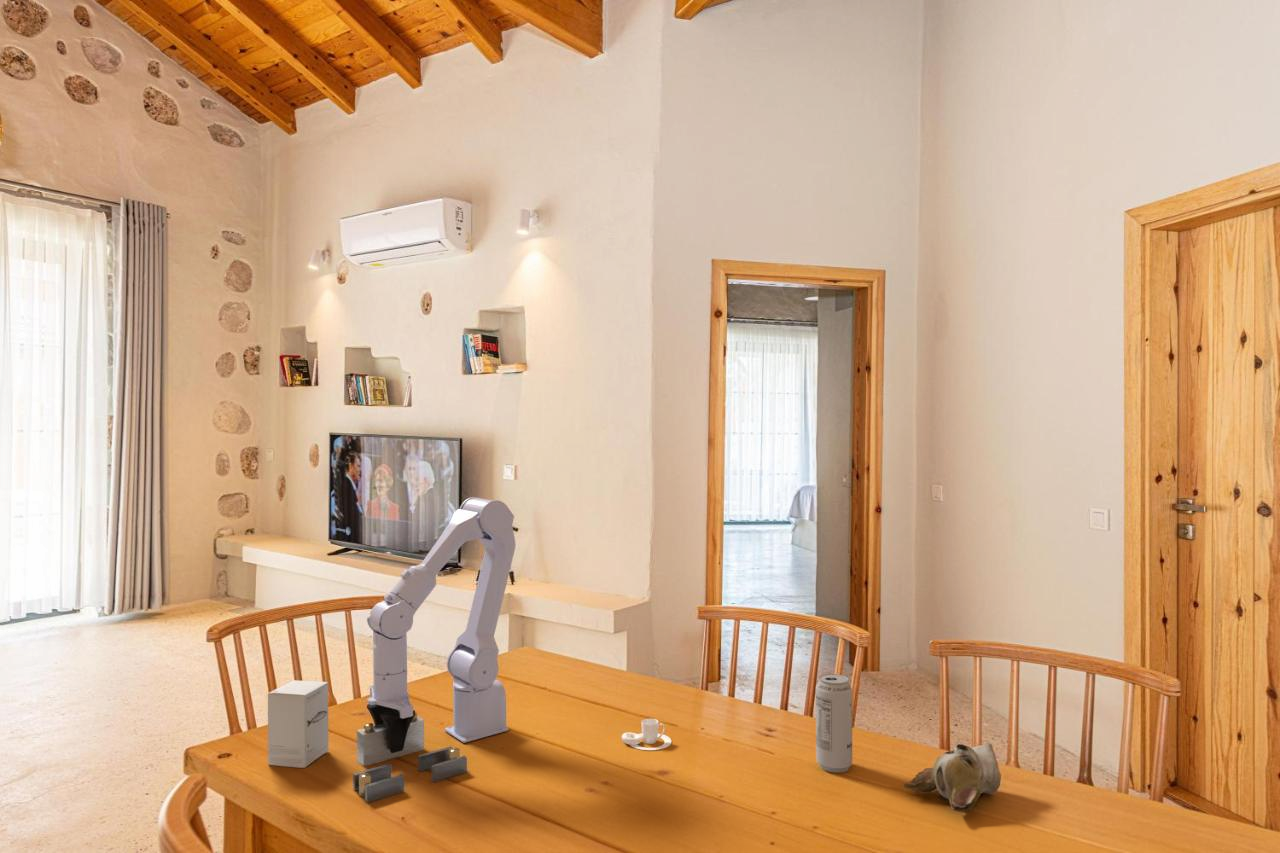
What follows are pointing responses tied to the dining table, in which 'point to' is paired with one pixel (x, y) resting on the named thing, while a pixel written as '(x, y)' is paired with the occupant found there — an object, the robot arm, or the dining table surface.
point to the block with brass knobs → (376, 742)
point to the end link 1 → (377, 783)
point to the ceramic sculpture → (961, 776)
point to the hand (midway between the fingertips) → (391, 746)
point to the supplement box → (297, 723)
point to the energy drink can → (834, 723)
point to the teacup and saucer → (647, 735)
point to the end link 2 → (443, 763)
